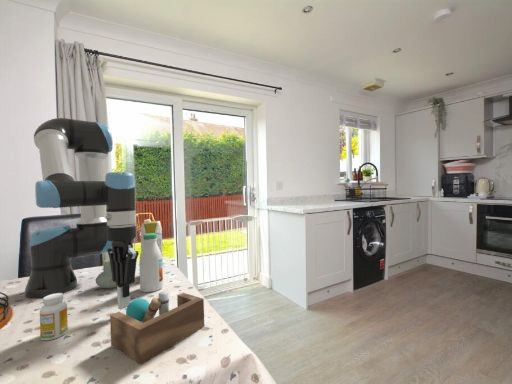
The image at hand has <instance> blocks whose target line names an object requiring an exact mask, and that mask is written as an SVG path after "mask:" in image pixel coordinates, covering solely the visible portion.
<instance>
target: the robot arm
mask: <svg viewBox="0 0 512 384" xmlns="http://www.w3.org/2000/svg"><path fill="white" fill-rule="evenodd" d="M33 142H34V144H35V146H36V148H37V149H38V152H39V159H40V160H39V161H40V167H41V176H42V180H38V181H36V182H35V184H34V185H35V188H34V189H35V205H36V206H37V207H38V208H41V209H43V208H44V209H45V208H46V209H48V208H49V209H51V208H53V209H58V208H60V209H61V208H73V207H74V208H76V207H77V208H78V207H80V219H79V220H78V221H76V223H75V224H76V225H75V227H71V226H70V225H69V224H61V225H55V226H50V227H45V228H41V229H37V230H35V231H33V232H32V233H31V234H30V240H29V241H30V243H29V247H30V275H29V277H28V281H27V282H26V286H25V289H24V296H25V297H26V298H30V299H32V298H33V299H37V298H44V297H46V296H48V295H51V294H56V293H63V294H64V293H66V292H70V291H71V290H73V289H75V288H77V286H78V278H77V276H76V274H75V272H74V269H73V267H72V259H76V258H82V257H88V256H94V255H98V256H99V255H102V254H106V253H107V255H108V257H109V258H108V259H110V266H111V272H112V279H113V282H116V285H118V286H117V288H116V289H117V309H118V310H119V311H121V310H124V309H127V307H128V305H129V304H130V303H131V300H130V299H131V298H130V297H131V295H130V292H131V290H130V285H132V284H134V283H135V279H136V269H137V259H138V257H139V255H140V254H139V251H138V250H134V245H133V240H134V239H136V238H137V226H136V225H135V224H136V223H137V215H136V214H137V213H136V212H137V211H136V182H135V175H134V173H132V172H125V171H114V172H113V171H112V172H111V171H110V172H107V173H105V160H106V159H107V158H108V157H109V153H111V152H112V151H113V135H112V133H111V129H110V127H109V126H108V125H107V124H105V123H101V122H96V121H89V120H82V119H81V120H80V119H74V118H73V119H72V118H68V117H67V118H66V117H57V118H51V119H48V120H46V121H45V122H43V123H41V124H40V125H39V126H38V127H37V128H36V130H35V131H34V133H33ZM68 150H73V151H74V152H73V153H74V155H75V156H76V158H78V164H79V167H78V169H79V180H75V175H74V173H73V167H72V163H71V160H70V156H69V152H68Z"/></svg>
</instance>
